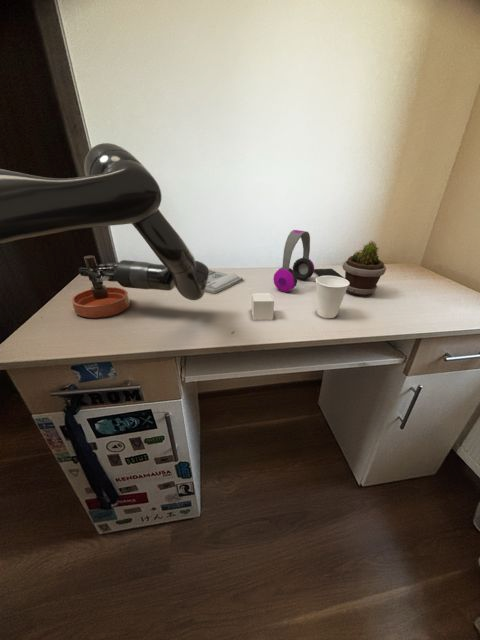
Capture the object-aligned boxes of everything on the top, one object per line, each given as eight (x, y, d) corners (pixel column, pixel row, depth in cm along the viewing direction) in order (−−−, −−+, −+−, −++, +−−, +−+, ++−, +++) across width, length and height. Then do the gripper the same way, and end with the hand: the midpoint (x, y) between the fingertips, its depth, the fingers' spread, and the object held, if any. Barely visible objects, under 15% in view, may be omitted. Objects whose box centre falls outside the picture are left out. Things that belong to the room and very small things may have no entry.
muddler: (93, 300, 83) (79, 259, 77) (94, 295, 87) (82, 255, 80) (107, 298, 85) (96, 258, 78) (109, 293, 88) (97, 254, 81)
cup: (304, 310, 91) (309, 277, 85) (329, 306, 95) (335, 274, 89) (322, 324, 84) (328, 288, 78) (349, 318, 87) (356, 284, 81)
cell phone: (331, 270, 127) (331, 268, 127) (349, 284, 113) (350, 282, 112) (313, 271, 126) (313, 268, 125) (329, 285, 111) (329, 283, 111)
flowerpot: (338, 283, 114) (348, 230, 103) (378, 288, 111) (392, 234, 100) (336, 296, 102) (347, 238, 91) (380, 302, 99) (397, 242, 88)
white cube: (273, 319, 85) (274, 301, 82) (253, 320, 84) (253, 301, 81) (270, 310, 90) (271, 293, 87) (251, 311, 89) (251, 293, 86)
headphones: (291, 295, 101) (297, 237, 90) (270, 290, 105) (274, 233, 94) (314, 280, 116) (321, 228, 105) (295, 275, 120) (300, 225, 109)
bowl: (71, 322, 79) (66, 309, 77) (80, 301, 91) (76, 289, 89) (129, 315, 84) (126, 303, 82) (131, 296, 96) (128, 285, 94)
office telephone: (243, 274, 112) (211, 289, 97) (243, 280, 113) (212, 296, 98) (197, 263, 121) (162, 275, 106) (198, 269, 122) (163, 282, 107)
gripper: (149, 255, 83) (96, 250, 85) (120, 269, 71) (60, 263, 74) (153, 279, 87) (103, 275, 89) (127, 297, 76) (70, 290, 78)
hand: (84, 269), depth 82 cm, fingers closed on muddler, 2 cm apart
